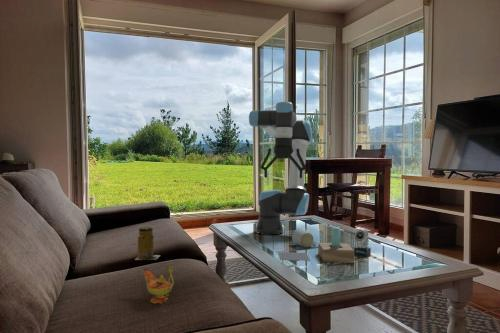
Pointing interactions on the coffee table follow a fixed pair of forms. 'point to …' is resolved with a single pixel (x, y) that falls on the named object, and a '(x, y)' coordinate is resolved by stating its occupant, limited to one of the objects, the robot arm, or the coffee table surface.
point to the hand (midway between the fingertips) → (282, 185)
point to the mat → (293, 256)
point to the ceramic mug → (303, 238)
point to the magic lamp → (158, 285)
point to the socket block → (336, 253)
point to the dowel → (335, 237)
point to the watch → (362, 243)
